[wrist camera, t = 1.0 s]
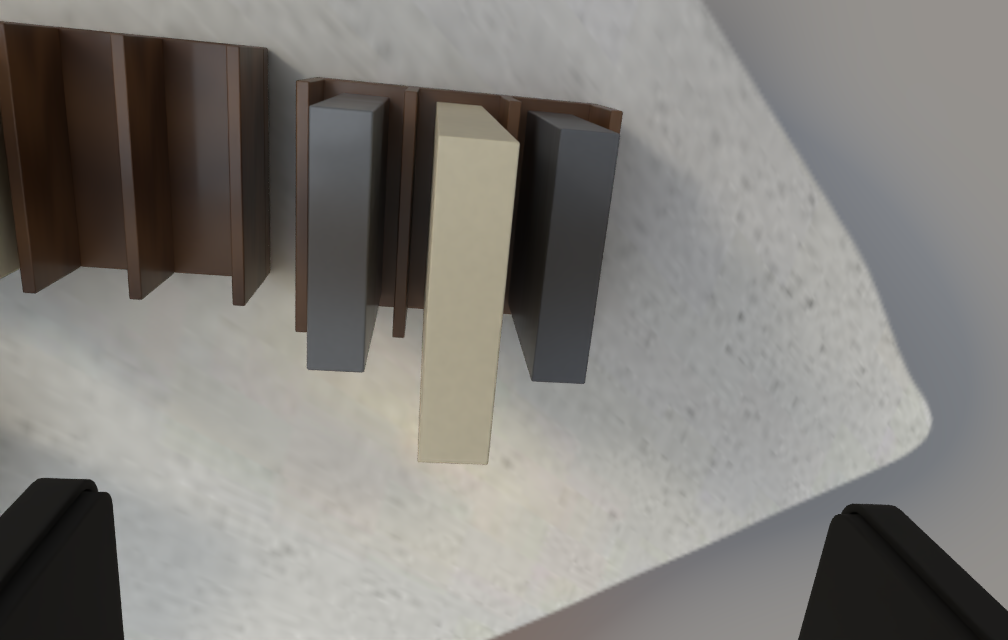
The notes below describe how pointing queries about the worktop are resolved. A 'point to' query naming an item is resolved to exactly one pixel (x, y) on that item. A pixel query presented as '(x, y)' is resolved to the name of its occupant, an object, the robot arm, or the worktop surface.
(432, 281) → the cream book
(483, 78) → the worktop surface
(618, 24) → the worktop surface
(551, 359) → the brown slotted rack
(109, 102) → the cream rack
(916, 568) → the robot arm
